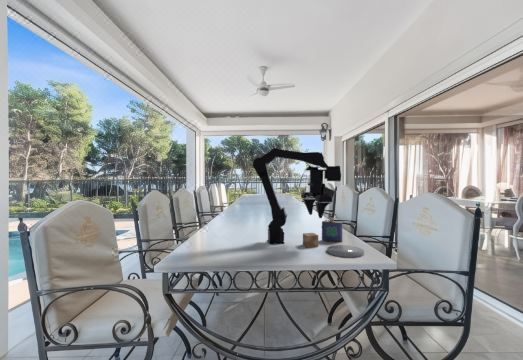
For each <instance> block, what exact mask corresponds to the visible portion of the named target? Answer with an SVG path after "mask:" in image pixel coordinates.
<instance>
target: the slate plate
mask: <svg viewBox="0 0 523 360" xmlns="http://www.w3.org/2000/svg"><path fill="white" fill-rule="evenodd" d="M326 248H327V249H326V250H327V251H326V252H327V253H328V254H329V255H331V256H334V257H339V258H352V259H354V258H360V257H363V256H364V255H365V250H364V249H362V248H361V247H357V246H354V245H348V244H347V245H345V244H343V245H342V244H337V245H334V244H333V245H330V246H328V247H326Z"/></svg>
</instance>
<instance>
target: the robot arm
mask: <svg viewBox="0 0 523 360" xmlns="http://www.w3.org/2000/svg"><path fill="white" fill-rule="evenodd" d="M277 158H280V159H286V160H287V159H288V160H293V161H298V162H299V161H300V162H304V163H307V164H309V165H308V167H306V168H305V170H306V171H309V182H307V186H309V191H302V193H301V194H300V197H301V199H302V201H303V203H304V205H305V207H306V210H307V212H308V214H309V215H310V216H312V215H313V211H314V210H313V209H314V203H315V207H316V211H317V215H318V218H319V219H323V216H324V212H325V210H326V208H327V206H328V205H330V204H331V203H332V202H333V201H334V199H333V198H334V196H335V193H336V190H334V189H331V188H330V187H327V186H326V184H325V183H324V180H326V182H341V180H342V173H341V172H342V171H341V165H333V166H332V165H328V164H327V162H326V161H325V156H324V154H323V153H321V152H318V151H311V152H310V151H309V152H300V151H293V150H287V149H279V148H277V147H273V148H272V149H271V150H270V151H268V152H267V153H265V154H264V155H262V156H260V157H256V158H254V160H253V162H252V167H253V169H254V171H255V172H256V174H257V175H258V177H259V178H260V181H261V183H262V187H263V189H264V192H265V195H266V197H267V200H268V203H269V206H270V209H271V217H272V219H271V221H270V222H269V224H268V225H267V240H266V242H268V244H270V245H280V244H281V245H282V244H283V245H284V244H285V232H284V229H283V228H282V227H284V226H285V225H286V222H287V217H288V214H287V213H286V210H285V209H286V208H285V207H284V206H283V207H281V205H280V203H279V200H278V198H277V194H276V192H275V190H274V186H273V184H272V181H271V178H270V173H269V166H268V165H269V164H270V163H271V162H273V161H274V160H275V159H277ZM311 165H313V166H311ZM319 167H320V168H322V169H319Z"/></svg>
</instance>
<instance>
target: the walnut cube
mask: <svg viewBox="0 0 523 360" xmlns="http://www.w3.org/2000/svg"><path fill="white" fill-rule="evenodd" d="M302 245H303V246H305V248H318V247H319V235H318V234H317V233H315V232H307V233H305V232H304V233H302Z"/></svg>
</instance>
